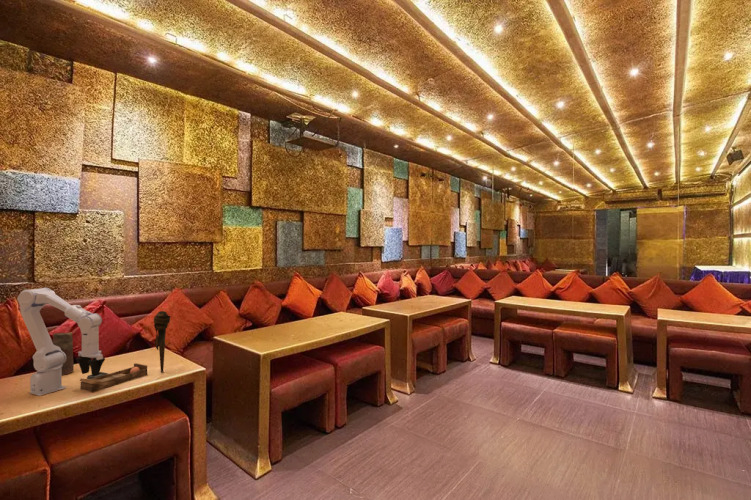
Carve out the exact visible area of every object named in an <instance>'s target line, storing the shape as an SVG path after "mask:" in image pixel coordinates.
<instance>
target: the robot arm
mask: <svg viewBox="0 0 751 500" xmlns="http://www.w3.org/2000/svg"><path fill="white" fill-rule="evenodd" d="M16 300H17V302H18V304H19V309H20V311H19V312H20V315H21V318H22V319H23V322H24V324H25V327H26V329H27V331H28V333H29V337H30V338H31V341H32V342H33V345H34V348H35V349H36V351H35V353H34V354H33V355H32V360H33V368H34V370H36V372H35V373H32V374H30V378H29V379H30V381H29V382H30V383H29V384H30V391H29V394H31V395H34V396H43V395H47V394H51V393H54V392H57V391H60V390H64V389H67V386H64V385H63V384H62V382H63V381H62V378H63V375H62V368H61V367H62V366H63V364H64V363H65V361H66V355H65V353H64V352H62V350H61V349H60V347H58V346H55V345H53V340H52V338H51V336H50V334H49V331H48V329H47V327H46V325H45V322H44V319H43V317H42V315H41V312H40V311H41V309H43V308H44V307H45V306H46V305H47V304H48V305H50V306H51V307H54V308H56V309H58V310H60V311H62V312H64V316H65V317H67V318H68V319H69V320H71V321H73V322H75V323H77V326H78V328H79V329H80V333H81V350H80V351H78V357H76V358H75V361H76V362H77V363H78V365H79V368H80V371H81V374H82V375H85V374H89V372H91V375H92V376H97V375H99V372H101V368H102V365H103V364H104V362H105V360H106V358H105V357H104V356H103V354H102V353H103V351H102V350H99V349H100V347H99V346H100V342H99V341H100V339H99V336H100V334H99V333H100V332H99V331H100V330H99V329H100V328H99V326H101V324H102V323H103V319H102V316H101V315H100V314H99V313H92V312H91V311H88V310H87V309H84V308H83V307H82V306H81V304H73V305H71V304H70V303H69V302H67V301H66V300H65V299H64V298H61V297H60V296H59V295H57V294H56V293H55V291H54V290H52V289H50V288H48V287H42V288H33V289H24V290H22V291H21V292H20V293H19V295H18V296H17V299H16Z"/></svg>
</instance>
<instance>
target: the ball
mask: <svg viewBox="0 0 751 500" xmlns="http://www.w3.org/2000/svg"><path fill="white" fill-rule="evenodd" d="M132 367H133V368H132V369H131V370H130V373H133V372H137V371H140V369H139V368H138V367H134V366H132Z"/></svg>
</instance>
